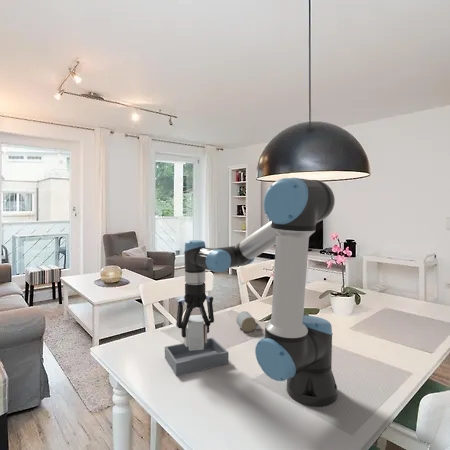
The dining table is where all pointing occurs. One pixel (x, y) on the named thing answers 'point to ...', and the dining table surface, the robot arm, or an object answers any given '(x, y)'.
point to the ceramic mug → (247, 322)
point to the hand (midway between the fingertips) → (195, 343)
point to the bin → (195, 357)
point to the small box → (195, 332)
